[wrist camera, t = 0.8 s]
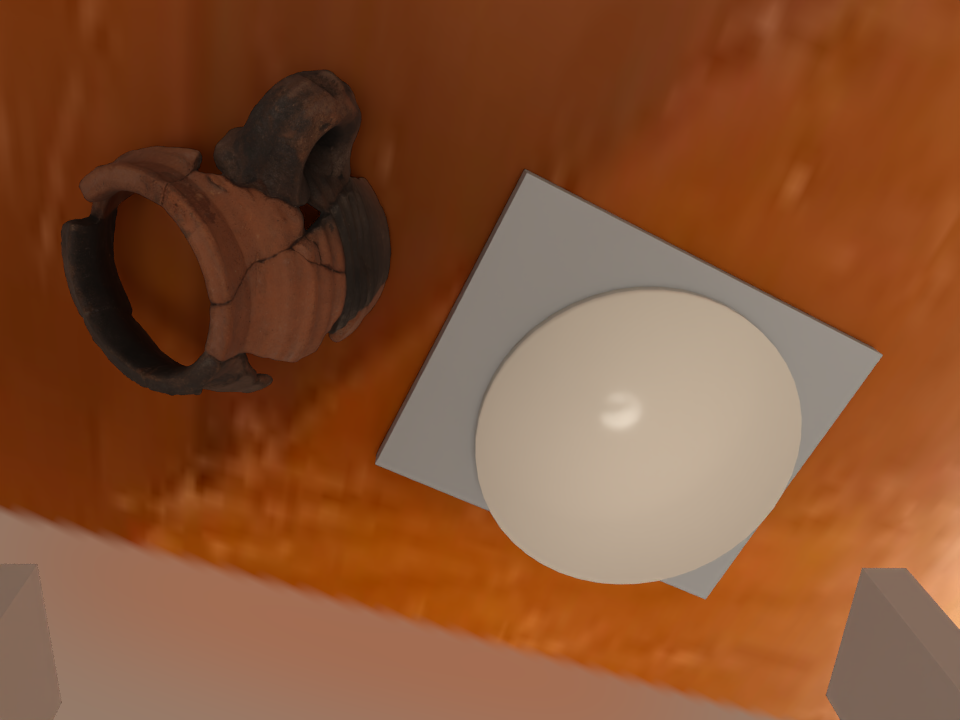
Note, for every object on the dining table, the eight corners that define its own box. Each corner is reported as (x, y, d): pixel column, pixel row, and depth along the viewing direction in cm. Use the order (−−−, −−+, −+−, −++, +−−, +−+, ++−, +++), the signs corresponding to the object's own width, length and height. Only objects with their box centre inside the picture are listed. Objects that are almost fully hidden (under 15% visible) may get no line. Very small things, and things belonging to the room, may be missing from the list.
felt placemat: (376, 454, 35) (375, 464, 34) (524, 168, 30) (526, 172, 30) (700, 587, 38) (705, 599, 37) (872, 347, 34) (882, 355, 33)
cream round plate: (420, 506, 35) (420, 516, 34) (574, 228, 30) (578, 233, 30) (683, 612, 37) (689, 624, 37) (857, 371, 33) (867, 378, 33)
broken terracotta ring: (355, 386, 34) (205, 477, 27) (191, 246, 36) (12, 299, 29) (491, 131, 27) (339, 168, 21) (283, -25, 29) (79, -38, 22)
